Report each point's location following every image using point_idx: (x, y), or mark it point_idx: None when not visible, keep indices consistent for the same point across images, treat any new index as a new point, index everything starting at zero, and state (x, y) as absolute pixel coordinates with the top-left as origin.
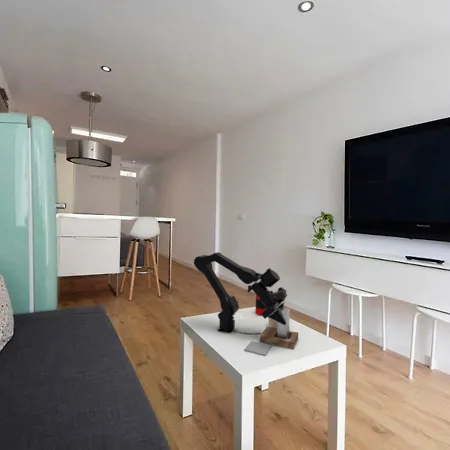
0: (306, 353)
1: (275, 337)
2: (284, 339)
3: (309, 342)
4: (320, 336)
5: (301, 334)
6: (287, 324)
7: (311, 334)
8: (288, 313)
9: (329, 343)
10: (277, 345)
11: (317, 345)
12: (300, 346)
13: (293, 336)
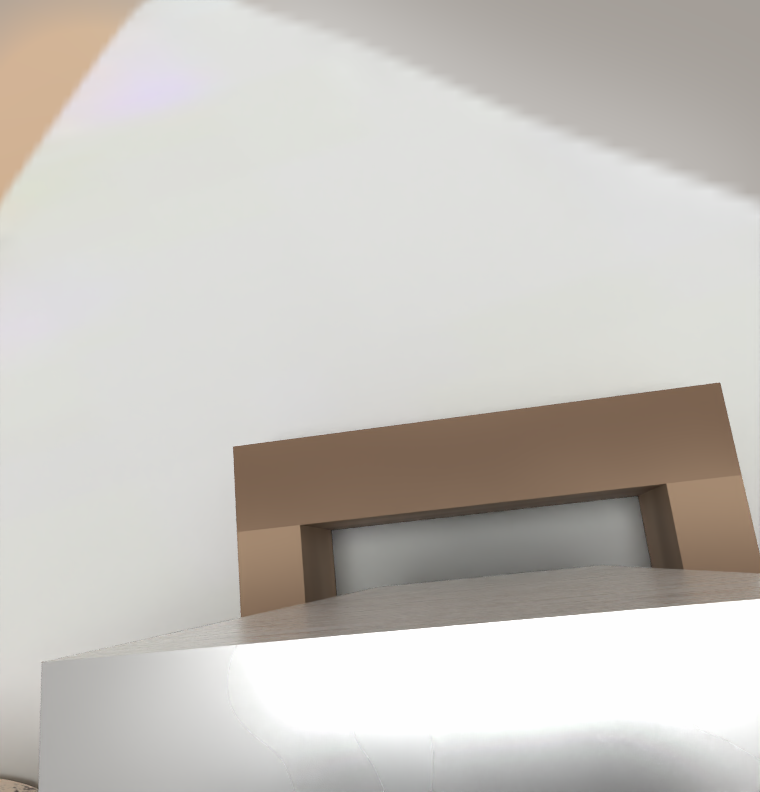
0: (667, 214)
1: None
2: None
3: (293, 290)
4: (28, 230)
5: (80, 472)
6: (581, 577)
7: (16, 348)
8: (495, 607)
9: (185, 82)
10: None
11: (326, 177)
12: (500, 353)
13: (455, 466)
